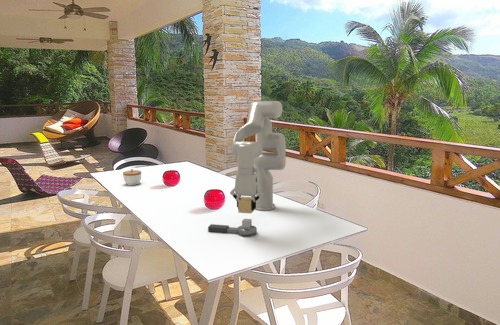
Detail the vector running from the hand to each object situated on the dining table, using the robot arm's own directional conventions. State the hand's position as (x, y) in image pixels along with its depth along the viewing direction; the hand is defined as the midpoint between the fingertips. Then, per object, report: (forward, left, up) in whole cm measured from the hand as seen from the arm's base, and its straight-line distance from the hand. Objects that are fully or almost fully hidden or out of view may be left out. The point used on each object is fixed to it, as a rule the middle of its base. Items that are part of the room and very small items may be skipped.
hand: (246, 208), depth 184 cm
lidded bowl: (-78, -106, -12) cm, 132 cm away
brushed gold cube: (0, 0, -1) cm, 1 cm away
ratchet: (0, -7, -12) cm, 14 cm away
